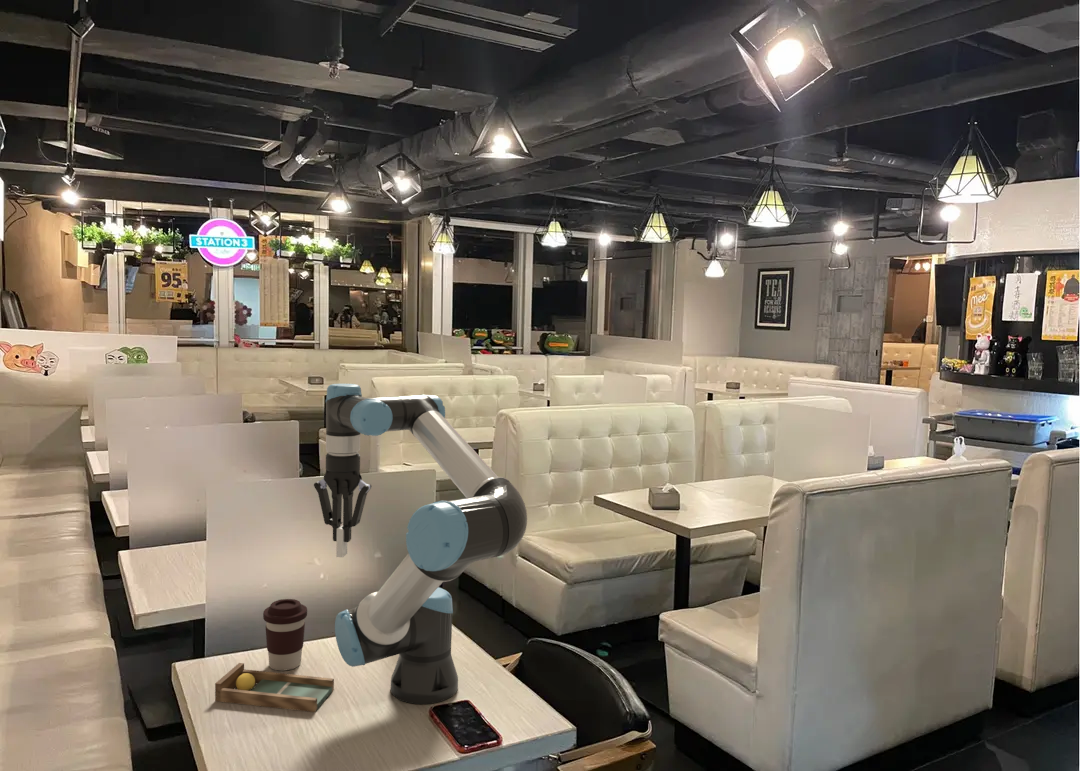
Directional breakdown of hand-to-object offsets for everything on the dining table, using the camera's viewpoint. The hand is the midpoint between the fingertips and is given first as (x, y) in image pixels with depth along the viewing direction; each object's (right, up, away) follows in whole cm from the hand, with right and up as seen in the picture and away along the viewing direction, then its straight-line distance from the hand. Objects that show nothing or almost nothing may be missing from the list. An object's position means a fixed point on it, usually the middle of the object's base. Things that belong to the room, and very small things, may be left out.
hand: (341, 555), depth 178 cm
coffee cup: (-16, -28, +9) cm, 34 cm away
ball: (-20, -27, -4) cm, 34 cm away
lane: (-13, -30, -6) cm, 33 cm away
